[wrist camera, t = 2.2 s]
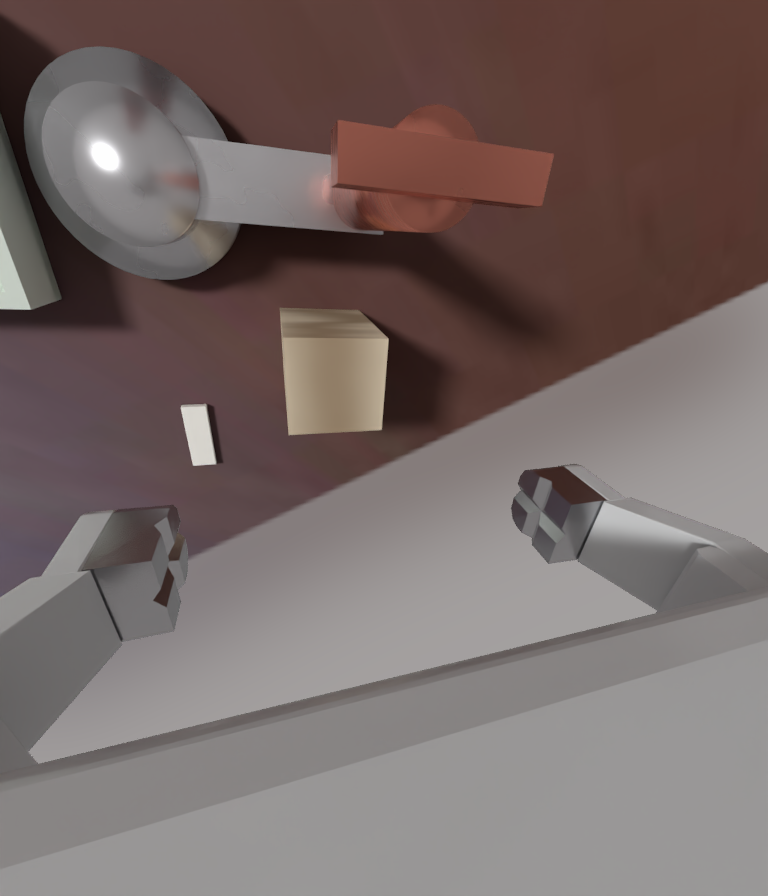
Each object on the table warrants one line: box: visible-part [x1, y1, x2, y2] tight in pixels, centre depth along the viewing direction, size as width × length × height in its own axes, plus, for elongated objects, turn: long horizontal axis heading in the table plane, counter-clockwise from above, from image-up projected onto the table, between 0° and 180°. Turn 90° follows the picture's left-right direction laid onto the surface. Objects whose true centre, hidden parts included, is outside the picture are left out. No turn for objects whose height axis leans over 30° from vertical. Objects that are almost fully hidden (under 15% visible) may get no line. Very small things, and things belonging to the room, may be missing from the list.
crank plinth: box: [24, 47, 241, 280], centre depth 15 cm, size 7×7×1 cm
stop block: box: [280, 308, 389, 435], centre depth 18 cm, size 4×4×6 cm
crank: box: [42, 81, 554, 247], centre depth 11 cm, size 12×4×10 cm, turn 86°
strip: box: [181, 404, 217, 466], centre depth 21 cm, size 1×4×1 cm, turn 176°
